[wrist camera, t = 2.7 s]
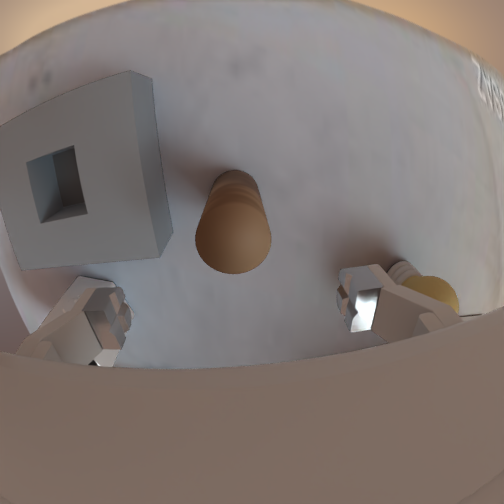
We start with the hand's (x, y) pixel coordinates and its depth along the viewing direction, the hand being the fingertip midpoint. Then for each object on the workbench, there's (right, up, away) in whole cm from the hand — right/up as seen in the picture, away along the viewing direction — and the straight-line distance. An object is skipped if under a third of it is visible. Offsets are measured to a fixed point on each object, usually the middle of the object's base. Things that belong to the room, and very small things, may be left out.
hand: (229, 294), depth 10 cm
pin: (-1, +7, +14) cm, 15 cm away
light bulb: (+17, -1, +18) cm, 25 cm away
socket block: (-15, +9, +12) cm, 21 cm away
